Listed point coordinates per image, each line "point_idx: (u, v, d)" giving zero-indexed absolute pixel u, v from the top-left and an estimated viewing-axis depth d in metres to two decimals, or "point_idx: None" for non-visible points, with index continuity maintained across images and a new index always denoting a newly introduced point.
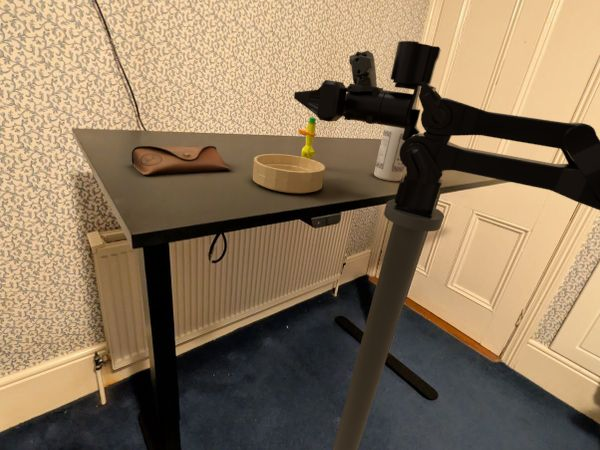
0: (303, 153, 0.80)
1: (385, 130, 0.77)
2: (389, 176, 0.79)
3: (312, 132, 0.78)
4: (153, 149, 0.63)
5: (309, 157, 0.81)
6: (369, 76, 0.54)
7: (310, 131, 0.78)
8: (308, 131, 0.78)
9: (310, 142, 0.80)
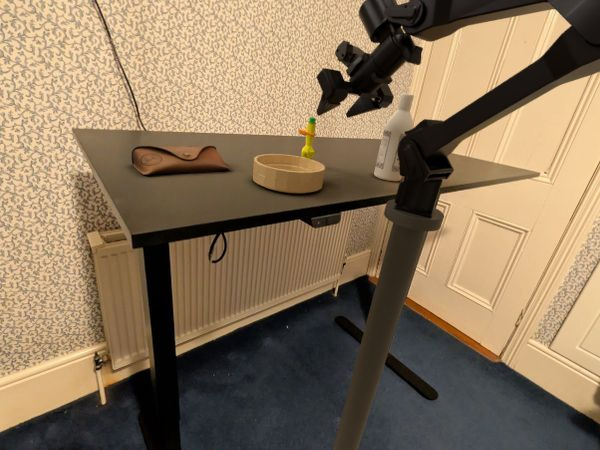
0: (303, 153, 0.80)
1: (385, 130, 0.77)
2: (389, 176, 0.79)
3: (312, 132, 0.78)
4: (153, 149, 0.63)
5: (309, 157, 0.81)
6: (354, 53, 0.62)
7: (310, 131, 0.78)
8: (308, 131, 0.78)
9: (310, 142, 0.80)
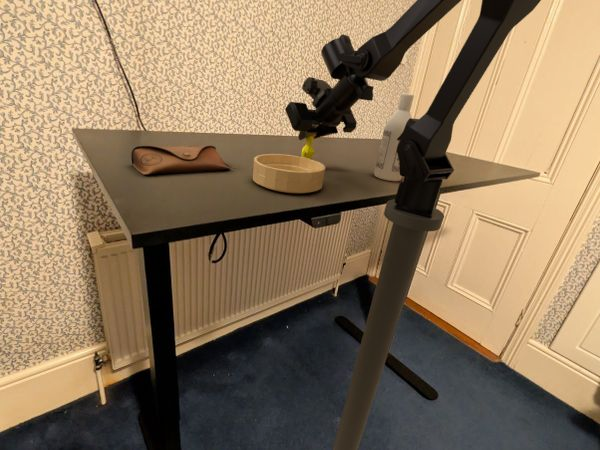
0: (303, 153, 0.80)
1: (385, 130, 0.77)
2: (389, 176, 0.79)
3: None
4: (153, 149, 0.63)
5: (309, 157, 0.81)
6: (318, 87, 0.71)
7: None
8: None
9: (310, 142, 0.80)
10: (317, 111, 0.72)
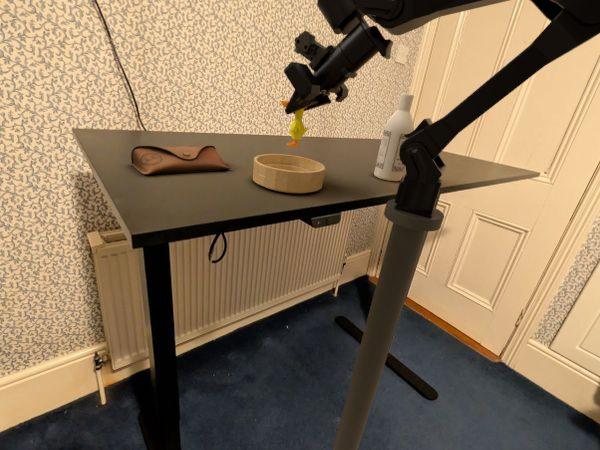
0: (295, 130, 0.65)
1: (385, 130, 0.77)
2: (389, 176, 0.79)
3: None
4: (153, 149, 0.63)
5: (301, 134, 0.66)
6: (317, 45, 0.57)
7: None
8: None
9: (301, 116, 0.65)
10: (318, 75, 0.58)
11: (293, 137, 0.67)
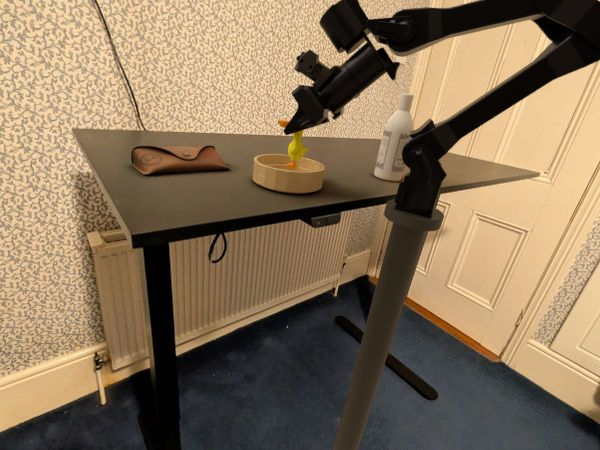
0: (295, 151, 0.62)
1: (385, 130, 0.77)
2: (389, 176, 0.79)
3: None
4: (153, 149, 0.63)
5: (301, 155, 0.63)
6: (321, 64, 0.54)
7: None
8: None
9: (301, 136, 0.62)
10: (323, 96, 0.55)
11: (292, 158, 0.63)
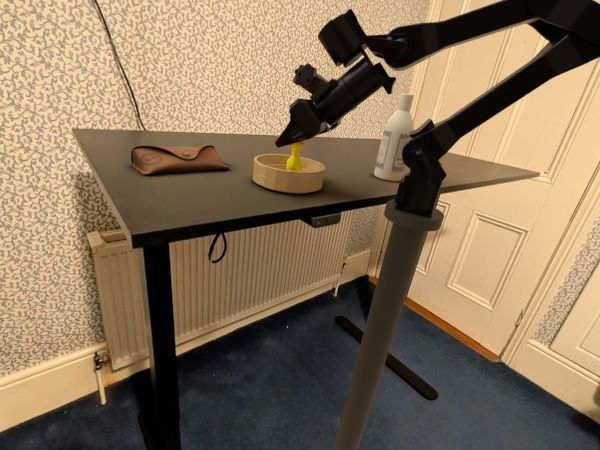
0: (293, 167, 0.63)
1: (385, 130, 0.77)
2: (389, 176, 0.79)
3: None
4: (152, 149, 0.63)
5: (299, 171, 0.64)
6: (319, 77, 0.55)
7: None
8: None
9: (299, 152, 0.63)
10: (320, 108, 0.56)
11: None
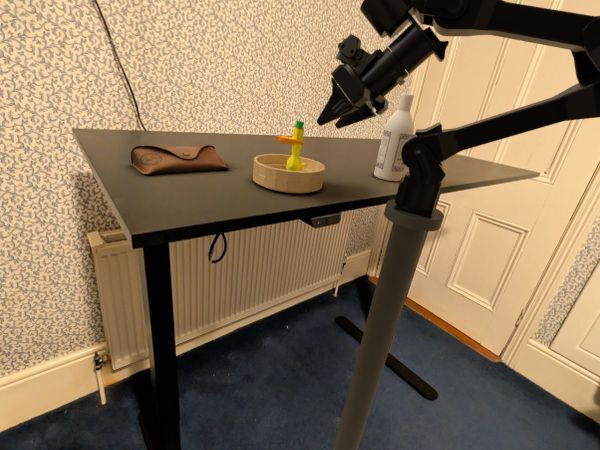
0: (293, 167, 0.63)
1: (385, 130, 0.77)
2: (389, 176, 0.79)
3: (301, 140, 0.62)
4: (152, 149, 0.63)
5: (299, 171, 0.64)
6: (363, 49, 0.53)
7: (300, 139, 0.61)
8: (297, 139, 0.61)
9: (299, 152, 0.63)
10: (365, 81, 0.53)
11: None
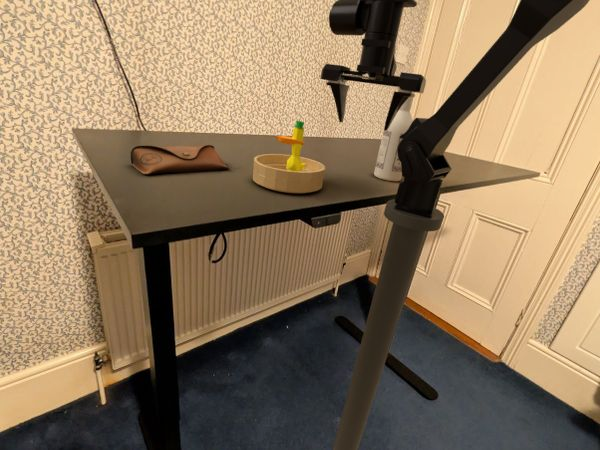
0: (293, 167, 0.63)
1: None
2: (389, 176, 0.79)
3: (301, 140, 0.62)
4: (152, 149, 0.63)
5: (299, 171, 0.64)
6: None
7: (300, 139, 0.61)
8: (297, 139, 0.61)
9: (299, 152, 0.63)
10: None
11: None
